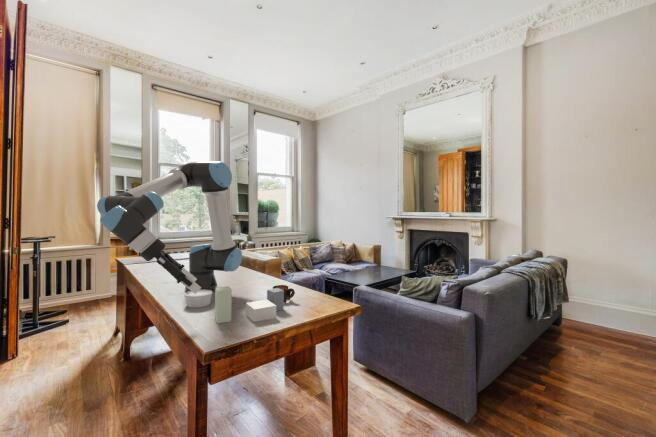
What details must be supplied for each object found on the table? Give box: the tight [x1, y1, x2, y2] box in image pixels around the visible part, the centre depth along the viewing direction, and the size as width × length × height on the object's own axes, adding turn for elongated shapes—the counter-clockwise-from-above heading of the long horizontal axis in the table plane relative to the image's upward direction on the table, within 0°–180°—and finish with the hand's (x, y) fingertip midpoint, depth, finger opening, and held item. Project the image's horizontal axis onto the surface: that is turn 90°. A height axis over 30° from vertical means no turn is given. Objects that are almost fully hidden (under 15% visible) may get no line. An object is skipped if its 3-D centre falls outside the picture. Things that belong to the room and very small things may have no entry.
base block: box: [245, 299, 277, 323], centre depth 118 cm, size 9×9×5 cm
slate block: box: [266, 288, 285, 312], centre depth 127 cm, size 5×5×8 cm
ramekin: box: [184, 289, 214, 309], centre depth 130 cm, size 11×11×5 cm
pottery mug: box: [272, 284, 296, 303], centre depth 139 cm, size 12×10×8 cm
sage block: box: [214, 285, 233, 324], centre depth 113 cm, size 5×5×12 cm
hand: (196, 286), depth 108 cm, fingers open, 13 cm apart
